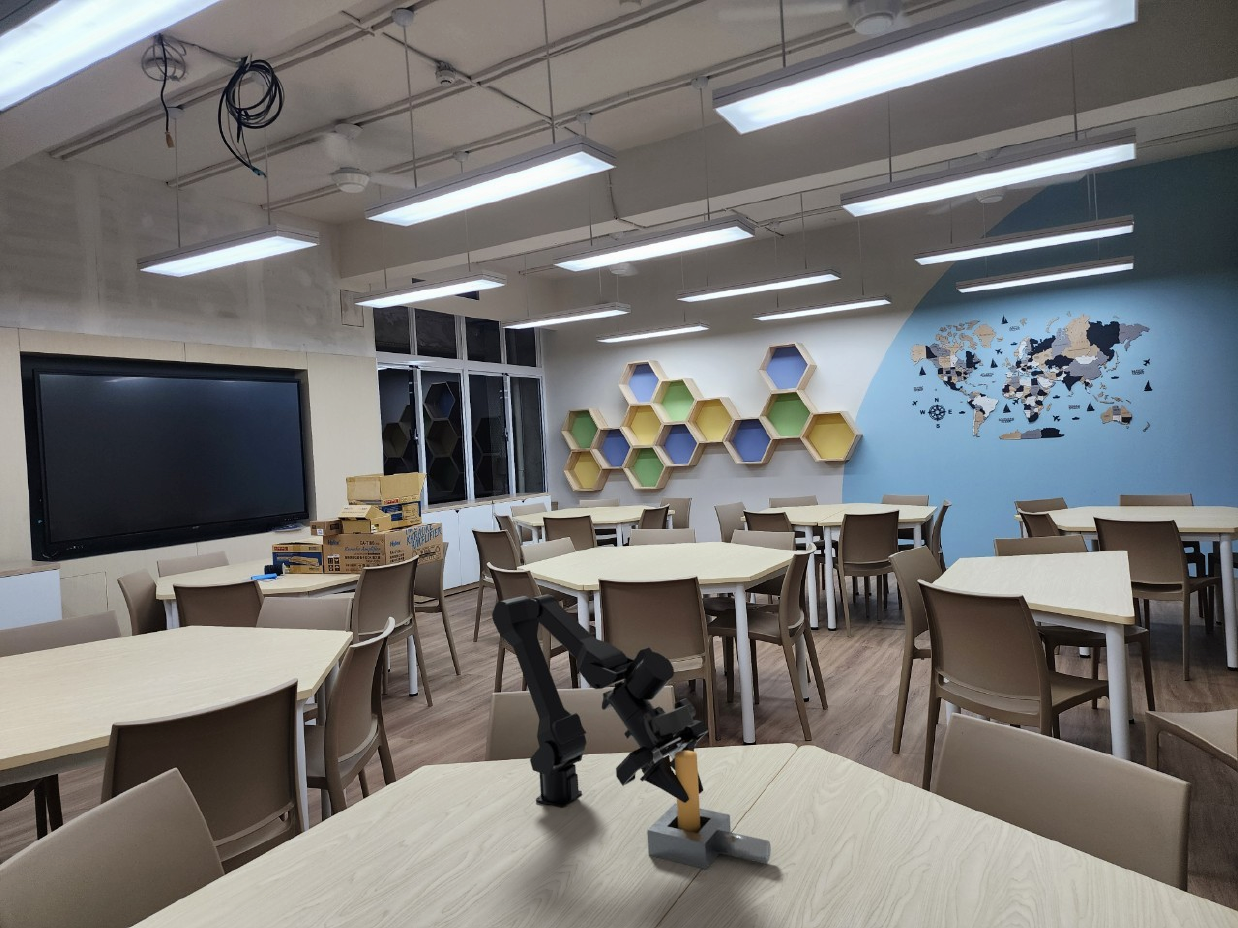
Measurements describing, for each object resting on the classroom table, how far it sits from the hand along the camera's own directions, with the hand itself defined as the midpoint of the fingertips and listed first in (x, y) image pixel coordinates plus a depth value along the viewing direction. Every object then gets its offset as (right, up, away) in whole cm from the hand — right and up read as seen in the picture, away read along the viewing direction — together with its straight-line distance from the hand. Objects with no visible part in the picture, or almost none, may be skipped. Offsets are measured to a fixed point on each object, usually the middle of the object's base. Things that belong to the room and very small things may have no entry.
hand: (694, 796), depth 121 cm
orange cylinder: (-1, -7, +1) cm, 7 cm away
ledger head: (+3, -8, -1) cm, 9 cm away
